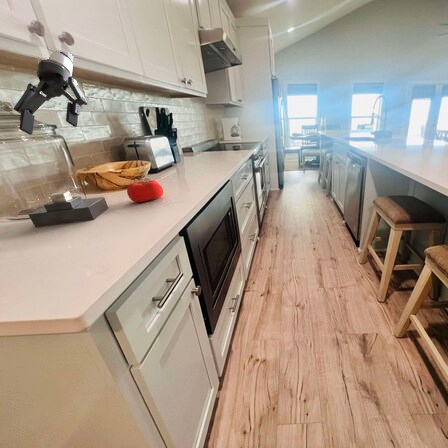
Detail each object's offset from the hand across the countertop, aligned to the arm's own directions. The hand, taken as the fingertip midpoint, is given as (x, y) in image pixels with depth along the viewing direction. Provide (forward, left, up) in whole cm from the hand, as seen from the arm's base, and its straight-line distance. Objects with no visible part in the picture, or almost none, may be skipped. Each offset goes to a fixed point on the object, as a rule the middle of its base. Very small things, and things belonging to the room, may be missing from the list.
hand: (48, 127), depth 71 cm
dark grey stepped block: (+3, -8, -25) cm, 27 cm away
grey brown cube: (+4, -10, -20) cm, 22 cm away
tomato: (+18, +6, -26) cm, 32 cm away
